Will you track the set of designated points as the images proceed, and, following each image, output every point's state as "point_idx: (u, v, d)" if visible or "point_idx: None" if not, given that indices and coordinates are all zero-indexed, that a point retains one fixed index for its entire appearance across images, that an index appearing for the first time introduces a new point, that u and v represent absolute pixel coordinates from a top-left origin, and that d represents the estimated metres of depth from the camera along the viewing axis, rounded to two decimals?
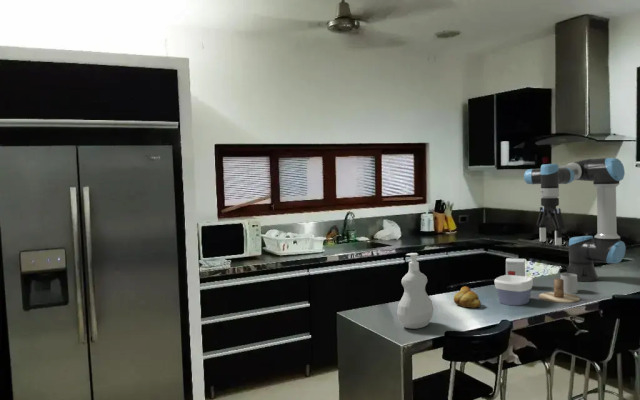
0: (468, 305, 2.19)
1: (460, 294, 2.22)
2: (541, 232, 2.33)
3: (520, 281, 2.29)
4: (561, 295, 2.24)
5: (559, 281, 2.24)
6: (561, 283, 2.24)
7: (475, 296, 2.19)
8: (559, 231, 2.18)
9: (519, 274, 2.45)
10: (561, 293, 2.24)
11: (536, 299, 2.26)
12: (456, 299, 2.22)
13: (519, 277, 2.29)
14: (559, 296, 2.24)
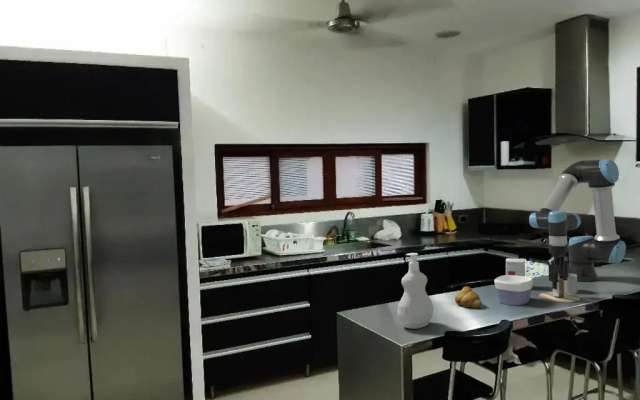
0: (469, 305, 2.18)
1: (461, 294, 2.22)
2: None
3: (520, 281, 2.29)
4: (561, 295, 2.24)
5: (559, 281, 2.24)
6: (561, 283, 2.24)
7: (476, 296, 2.19)
8: (553, 282, 2.24)
9: (519, 274, 2.45)
10: (561, 293, 2.24)
11: (536, 299, 2.26)
12: (457, 299, 2.22)
13: (519, 277, 2.29)
14: (559, 296, 2.24)
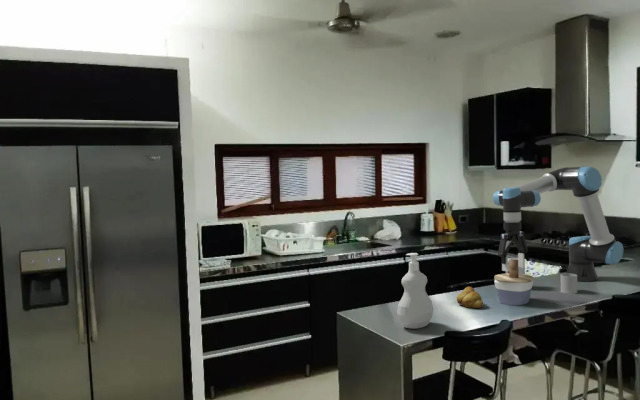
0: (470, 305, 2.18)
1: (463, 294, 2.21)
2: (519, 258, 2.27)
3: None
4: (516, 275, 2.22)
5: (514, 261, 2.22)
6: (516, 263, 2.22)
7: (477, 296, 2.18)
8: (502, 257, 2.20)
9: None
10: (516, 273, 2.22)
11: (536, 299, 2.26)
12: (459, 299, 2.22)
13: None
14: (514, 276, 2.22)
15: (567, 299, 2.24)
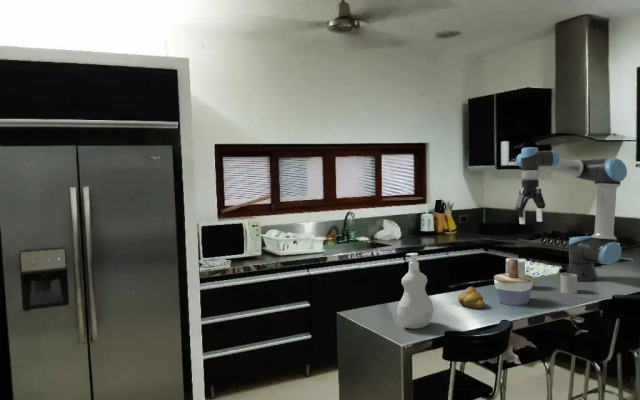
0: (471, 305, 2.18)
1: (464, 294, 2.21)
2: (537, 212, 2.42)
3: None
4: (515, 275, 2.22)
5: (513, 261, 2.22)
6: (515, 263, 2.22)
7: (479, 297, 2.17)
8: (519, 211, 2.34)
9: None
10: (515, 273, 2.22)
11: (536, 299, 2.26)
12: (460, 299, 2.22)
13: None
14: (513, 276, 2.22)
15: (567, 299, 2.24)
